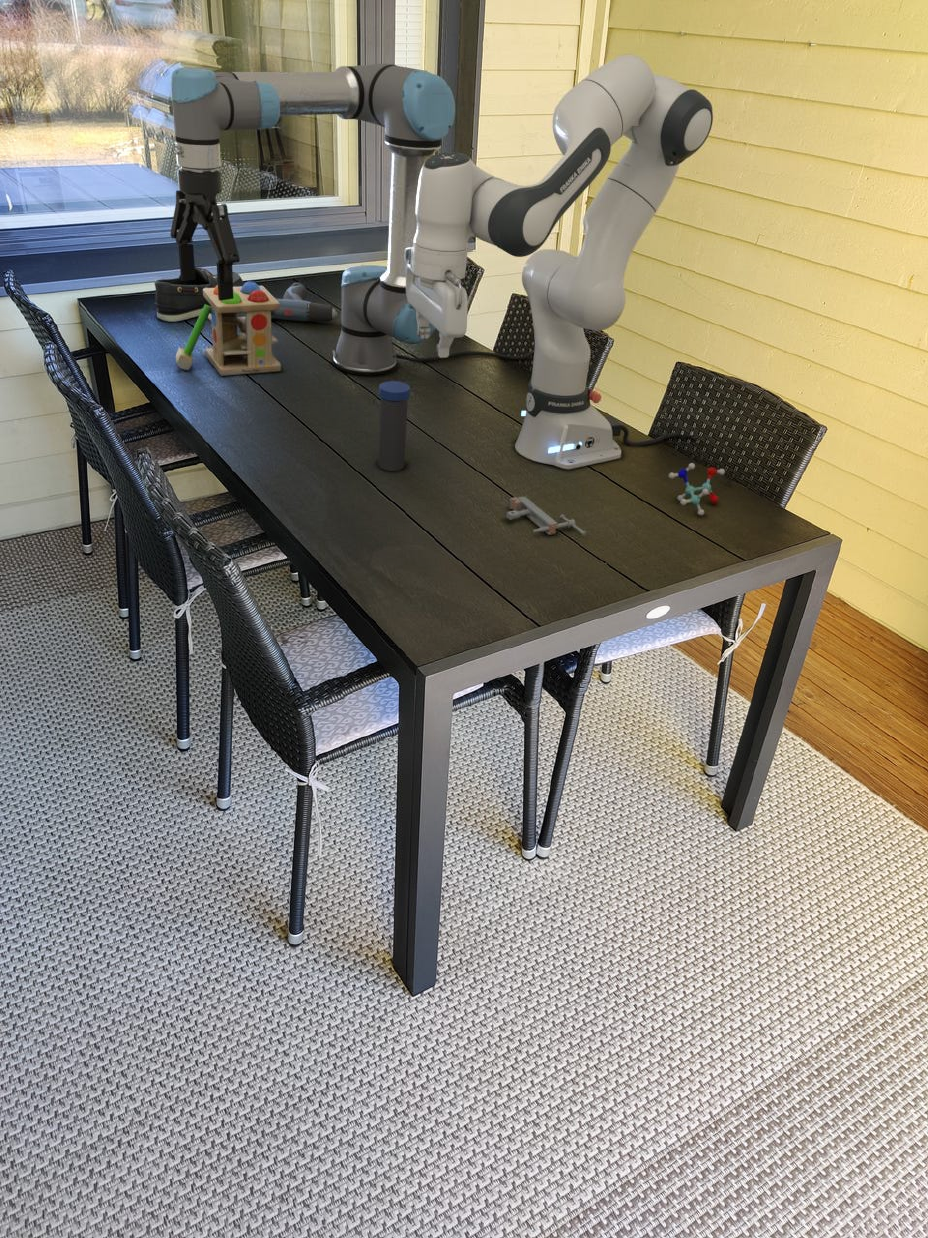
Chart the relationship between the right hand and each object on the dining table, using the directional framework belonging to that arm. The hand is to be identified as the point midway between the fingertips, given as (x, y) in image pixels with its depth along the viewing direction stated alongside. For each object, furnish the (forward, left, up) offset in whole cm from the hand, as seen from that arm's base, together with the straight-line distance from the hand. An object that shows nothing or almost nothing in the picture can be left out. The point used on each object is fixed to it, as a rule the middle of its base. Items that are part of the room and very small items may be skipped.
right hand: (432, 346), depth 167 cm
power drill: (-5, -109, -29) cm, 113 cm away
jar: (+1, -15, -29) cm, 32 cm away
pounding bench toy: (+23, -74, -29) cm, 82 cm away
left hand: (+31, -39, -1) cm, 50 cm away
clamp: (-18, +15, -29) cm, 37 cm away
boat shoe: (+21, -118, -29) cm, 124 cm away
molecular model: (-50, +14, -29) cm, 60 cm away
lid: (+1, -15, -13) cm, 20 cm away
